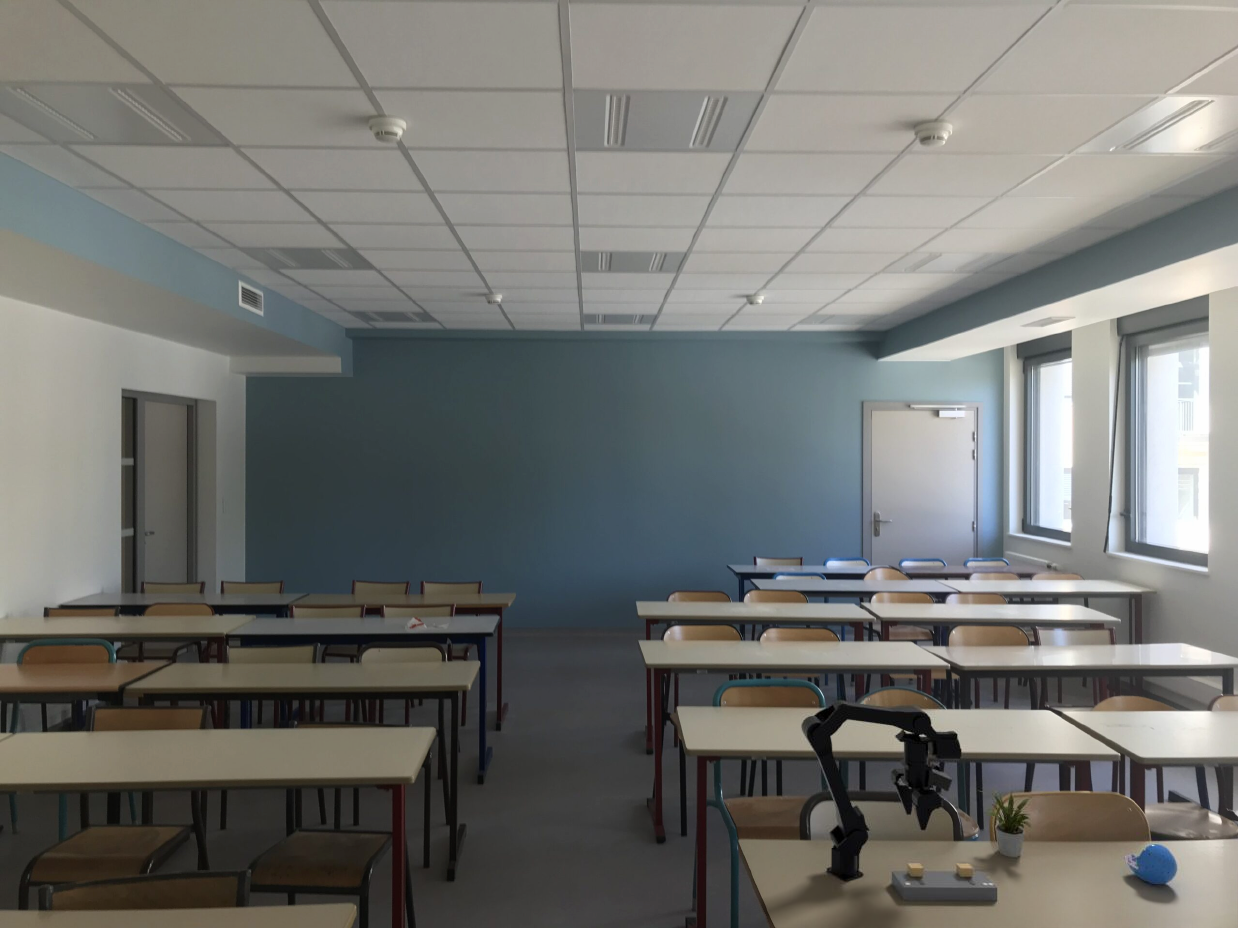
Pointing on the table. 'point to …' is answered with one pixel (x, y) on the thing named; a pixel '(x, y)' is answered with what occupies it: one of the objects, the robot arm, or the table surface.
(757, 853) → the table surface
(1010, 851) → the house plant
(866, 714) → the robot arm
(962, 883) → the grey slider switch box
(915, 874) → the outlet switch
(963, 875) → the outlet switch
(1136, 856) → the cell model
